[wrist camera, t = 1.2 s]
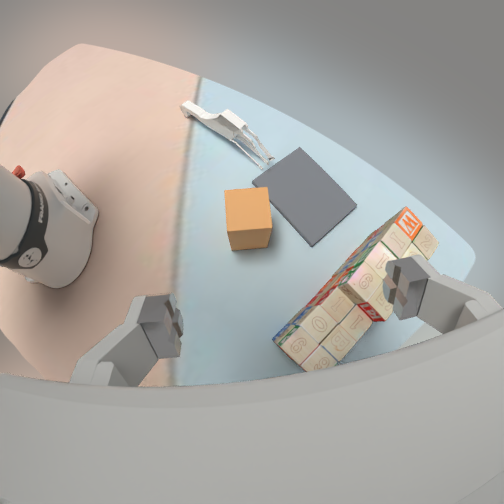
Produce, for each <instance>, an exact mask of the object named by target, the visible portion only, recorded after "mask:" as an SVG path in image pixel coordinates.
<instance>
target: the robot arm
mask: <svg viewBox="0 0 504 504" xmlns="http://www.w3.org/2000/svg"><path fill="white" fill-rule="evenodd" d="M24 176H25V171H24V170H23V168H22V167H21V166H17V167H16V168H15V170H14V171H13V172H12V173H11V172H10V171H8V170H7V169H6V168H5V167H3V166H2V165H1V164H0V266H2V267H6V268H8V269H9V270H12V271H14V272H16V273H18V274H20V275H23V276H25V279H26V280H27V281H28V282H31V283H37V282H40V283H42V284H44V285H46V286H48V287H51V288H61V287H64V286H67V285H68V284H70V283H72V282H73V281H74V280H75V279H76V278H77V277H78V276H79V275H80V273H81V272H82V270H83V269H84V267H85V265H86V263H87V261H88V258H89V255H90V251H91V246H92V233H93V227H94V225H95V223H96V220H97V217H98V209H97V208H96V207H95V205H94V204H93V203H92V202H91V201H90V200H89V199H88V198H87V197H86V196H85V195H84V194H83V193H82V192H81V191H80V190H79V189H78V187H77V186H76V185H75V184H74V183H73V182H72V181H71V180H70V179H69V178H68V177H67V175H66V174H65V173H64V172H63V171H61V170H60V169H58V170H55V171H52V172H51V173H49V174H46V173H45V172H43V171H39V172H36V173H34V174H32V175H31V176H30V177H28V178H27V179H26V180H25V179H21V178H22V177H24ZM88 208H89V209H88ZM87 209H88V211H87ZM385 271H386V273H387V276H386V277H385V278H384V279H383V286H382V287H383V294H384V297H385V299H386V300H387V302H388V303H390V304H392V305H393V309H392V310H393V311H394V313H395V314H396V316H397V317H398V319H399V320H403V319H407V318H411V317H415V316H417V317H418V318H420V319H421V320H423V321H424V322H426V323H427V324H429V325H430V326H432V327H433V328H435V329H436V330H438V331H439V332H441V333H443V334H442V335H440V336H437V337H434V338H432V339H429V340H426V341H423V342H420V343H417V344H414V345H411V346H408V347H405V348H402V349H398V350H395V351H391V352H388V353H384V354H381V355H377V356H374V357H370V358H366V359H362V360H358V361H354V362H350V363H346V364H342V365H337V366H333V367H328V368H323V369H318V370H313V371H308V372H303V373H297V374H291V375H285V376H279V377H272V378H265V379H258V380H250V381H241V382H232V383H221V384H209V385H193V386H169V387H137V386H138V385H139V384H140V383H141V381H142V380H143V379H144V377H145V376H146V375H147V374H148V372H149V371H150V370H151V369H152V367H153V366H154V365H155V363H156V362H157V361H158V359H161V358H173V357H180V350H181V341H180V339H179V338H180V337H181V336H182V335H183V319H182V315H181V312H180V310H178V309H177V308H176V303H177V301H176V298H175V296H174V294H173V293H164V294H153V295H143V296H136V297H134V298H133V301H132V303H131V306H130V308H129V311H128V313H127V316H126V318H125V321H124V324H123V325H119V326H118V327H117V328H115V329H114V330H113V331H112V332H111V333H109V334H108V335H107V336H106V337H105V338H103V339H102V340H101V341H100V342H99V343H97V344H96V345H95V346H94V347H93V348H92V349H90V350H89V351H88V352H87V353H86V354H85V355H83V356H82V357H81V358H80V359H79V360H78V361H77V364H76V366H75V369H74V371H73V374H72V376H71V379H70V382H69V383H66V382H58V381H50V380H43V379H35V378H30V377H24V376H19V375H14V374H9V373H0V504H504V308H502V307H501V306H500V305H499V304H498V303H497V302H496V300H494V298H493V297H492V296H491V295H490V294H489V293H487V292H485V291H483V290H480V289H478V288H476V287H473V286H471V285H468V284H466V283H464V282H461V281H459V280H456V279H454V278H451V277H449V276H446V275H444V274H443V275H440V274H439V273H438V272H437V270H436V269H435V268H434V267H433V266H432V265H431V264H430V263H429V262H428V261H427V260H426V259H425V258H424V257H423V256H422V255H419V254H418V255H413V256H409V257H406V258H401V259H395V260H390V261H387V263H386V267H385Z"/></svg>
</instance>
